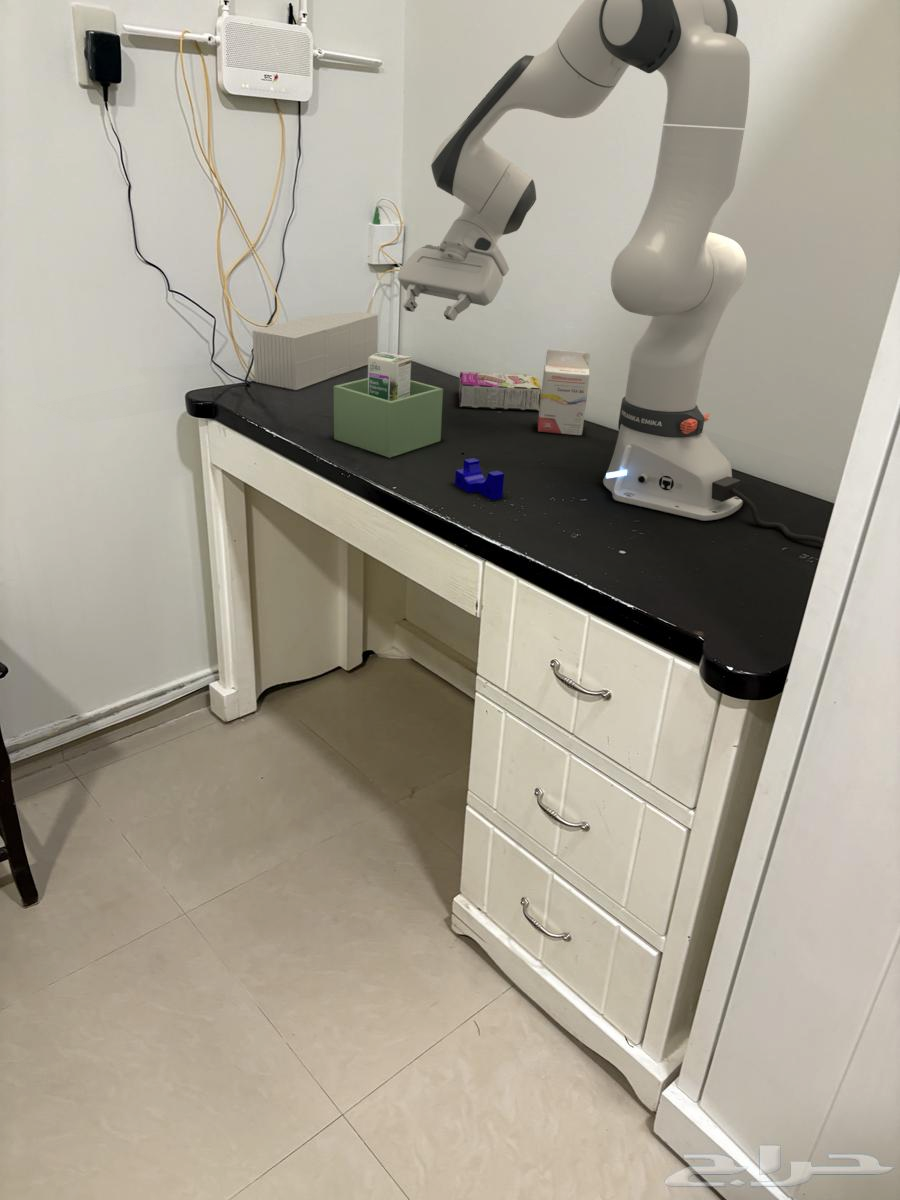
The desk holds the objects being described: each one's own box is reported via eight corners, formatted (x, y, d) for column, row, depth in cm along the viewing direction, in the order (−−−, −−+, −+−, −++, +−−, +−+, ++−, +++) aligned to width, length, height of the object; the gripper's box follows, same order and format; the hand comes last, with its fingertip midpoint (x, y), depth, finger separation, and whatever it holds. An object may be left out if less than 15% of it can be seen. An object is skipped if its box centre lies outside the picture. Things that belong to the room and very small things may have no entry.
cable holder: (454, 484, 149) (456, 461, 147) (472, 481, 151) (474, 458, 149) (484, 501, 144) (485, 477, 142) (502, 497, 145) (504, 473, 144)
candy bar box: (459, 369, 195) (537, 374, 196) (458, 393, 198) (534, 397, 198) (460, 383, 185) (542, 388, 186) (459, 408, 188) (540, 412, 188)
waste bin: (440, 441, 169) (443, 388, 164) (389, 457, 159) (390, 402, 155) (385, 423, 176) (386, 373, 172) (333, 439, 167) (333, 385, 162)
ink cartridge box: (537, 432, 176) (545, 354, 169) (537, 424, 180) (545, 348, 174) (582, 436, 176) (592, 357, 169) (581, 428, 180) (591, 351, 173)
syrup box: (365, 437, 166) (366, 356, 159) (382, 429, 171) (384, 350, 164) (393, 444, 164) (395, 361, 157) (409, 435, 169) (412, 355, 162)
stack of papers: (294, 338, 188) (252, 330, 192) (296, 390, 193) (254, 381, 197) (378, 314, 214) (338, 308, 218) (377, 361, 219) (339, 354, 223)
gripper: (413, 231, 170) (376, 292, 168) (503, 245, 159) (464, 311, 157) (428, 255, 175) (392, 315, 173) (516, 270, 164) (479, 334, 162)
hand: (427, 313), depth 165 cm, fingers open, 8 cm apart
